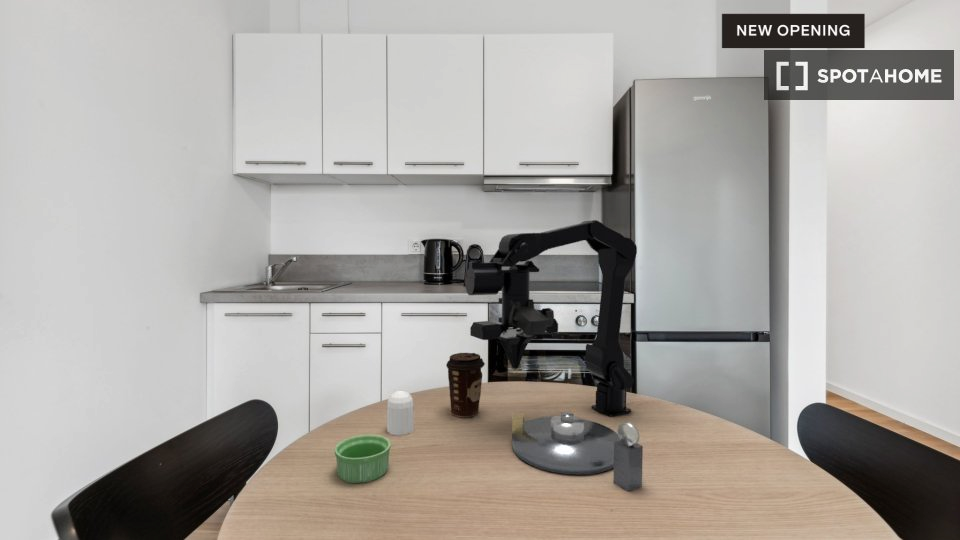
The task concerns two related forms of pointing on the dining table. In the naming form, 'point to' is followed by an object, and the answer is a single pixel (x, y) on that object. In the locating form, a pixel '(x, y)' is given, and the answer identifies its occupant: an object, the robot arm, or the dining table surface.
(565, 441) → the cover
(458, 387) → the coffee cup
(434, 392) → the dining table surface
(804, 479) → the dining table surface
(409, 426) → the salt shaker
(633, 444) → the indicator stand
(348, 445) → the ramekin
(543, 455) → the turntable
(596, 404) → the robot arm
